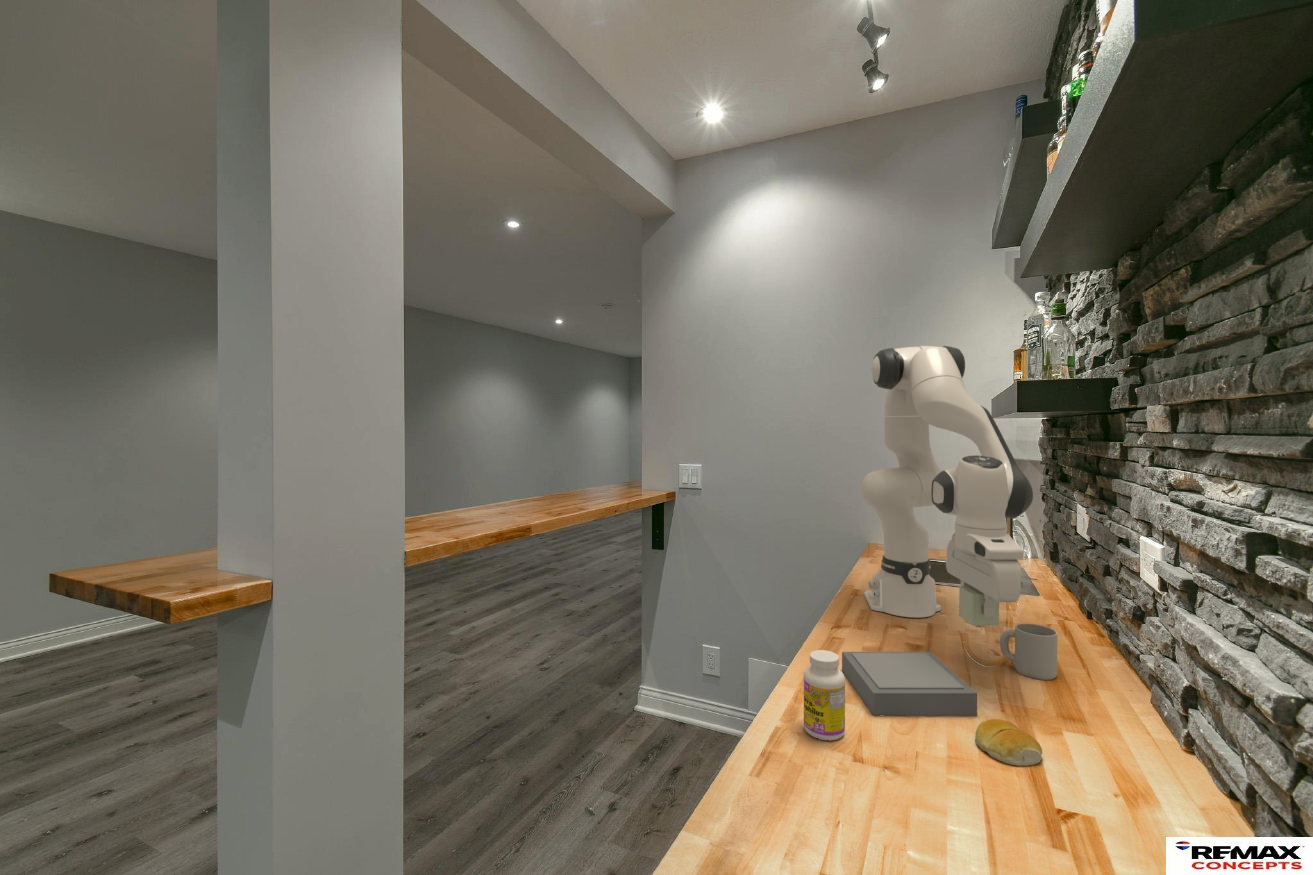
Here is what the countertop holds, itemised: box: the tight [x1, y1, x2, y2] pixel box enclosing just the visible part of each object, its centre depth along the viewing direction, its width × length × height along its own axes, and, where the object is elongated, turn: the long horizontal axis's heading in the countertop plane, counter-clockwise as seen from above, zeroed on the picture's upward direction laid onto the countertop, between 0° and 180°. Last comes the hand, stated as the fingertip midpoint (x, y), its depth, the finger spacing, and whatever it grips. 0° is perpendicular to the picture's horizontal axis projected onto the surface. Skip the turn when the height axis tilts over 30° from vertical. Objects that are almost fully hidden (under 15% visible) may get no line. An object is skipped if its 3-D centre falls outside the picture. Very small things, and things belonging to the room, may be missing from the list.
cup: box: [999, 622, 1058, 681], centre depth 116 cm, size 7×10×9 cm
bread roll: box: [974, 718, 1043, 767], centre depth 89 cm, size 8×9×4 cm
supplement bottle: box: [803, 649, 846, 742], centre depth 94 cm, size 7×7×13 cm
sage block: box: [958, 585, 1000, 627], centre depth 111 cm, size 5×5×6 cm
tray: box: [841, 651, 978, 717], centre depth 108 cm, size 18×18×4 cm
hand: (978, 609), depth 111 cm, fingers closed on sage block, 5 cm apart
